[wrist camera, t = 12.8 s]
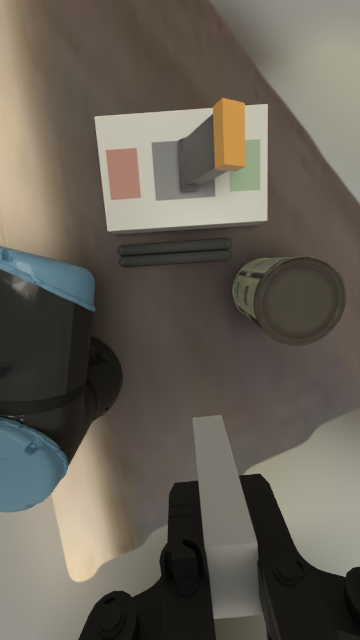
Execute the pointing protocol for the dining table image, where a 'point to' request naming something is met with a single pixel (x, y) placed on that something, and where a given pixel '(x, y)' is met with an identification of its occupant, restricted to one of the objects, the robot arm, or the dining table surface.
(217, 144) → the breaker lever
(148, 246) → the long thin dark rod
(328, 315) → the coffee can
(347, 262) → the dining table surface
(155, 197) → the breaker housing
